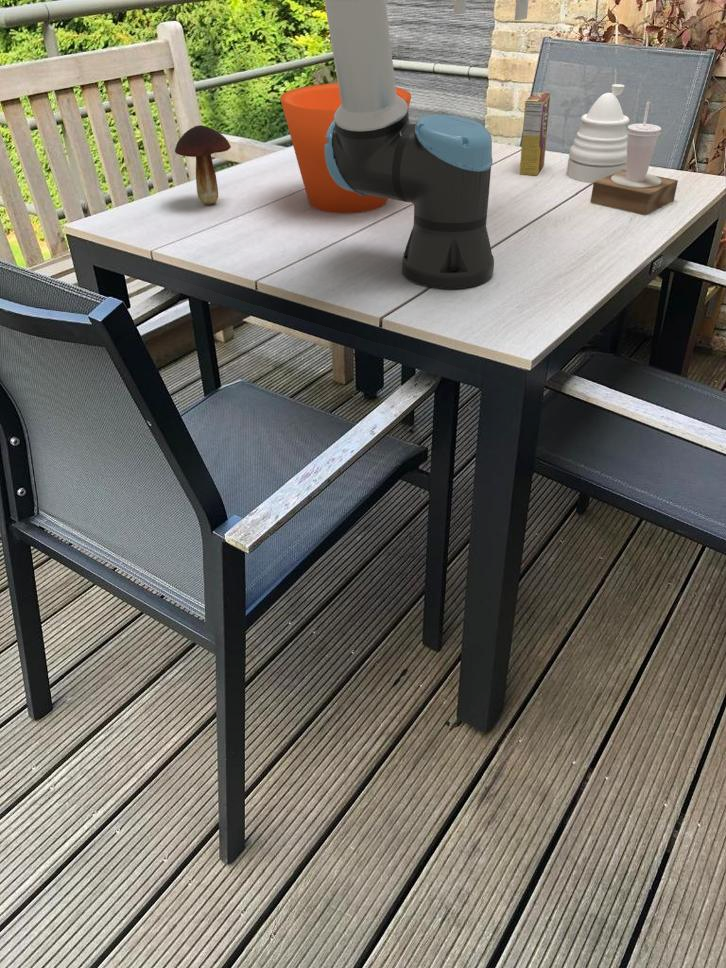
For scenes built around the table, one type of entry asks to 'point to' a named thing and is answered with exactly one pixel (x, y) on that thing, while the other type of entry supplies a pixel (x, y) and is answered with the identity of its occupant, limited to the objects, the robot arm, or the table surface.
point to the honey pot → (600, 140)
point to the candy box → (534, 133)
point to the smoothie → (640, 148)
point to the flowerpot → (322, 147)
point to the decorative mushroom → (203, 158)
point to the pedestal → (633, 192)
